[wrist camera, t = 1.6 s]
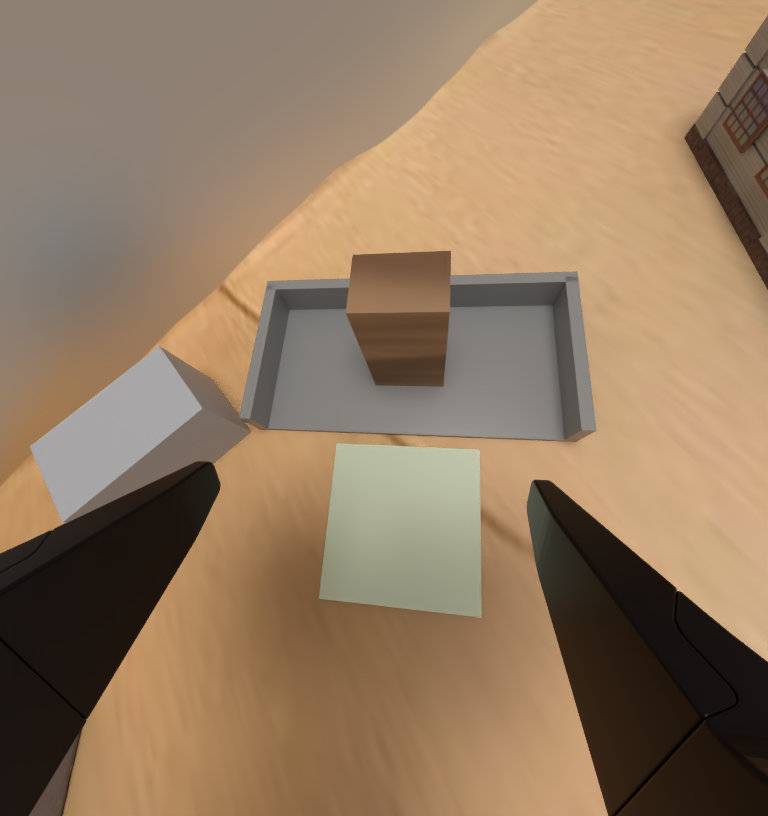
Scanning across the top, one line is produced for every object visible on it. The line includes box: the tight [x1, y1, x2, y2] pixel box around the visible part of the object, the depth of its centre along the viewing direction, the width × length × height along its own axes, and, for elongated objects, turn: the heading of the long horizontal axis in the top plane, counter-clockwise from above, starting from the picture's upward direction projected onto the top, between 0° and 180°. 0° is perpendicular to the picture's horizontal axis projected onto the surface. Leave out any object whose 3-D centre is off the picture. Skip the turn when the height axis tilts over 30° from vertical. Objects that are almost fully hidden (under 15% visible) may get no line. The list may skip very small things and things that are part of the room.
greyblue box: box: [30, 346, 251, 522], centre depth 24 cm, size 10×6×6 cm, turn 131°
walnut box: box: [346, 251, 451, 387], centre depth 21 cm, size 4×5×10 cm
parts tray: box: [239, 272, 596, 442], centre depth 24 cm, size 11×23×3 cm, turn 86°
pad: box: [319, 443, 482, 618], centre depth 22 cm, size 10×10×1 cm
